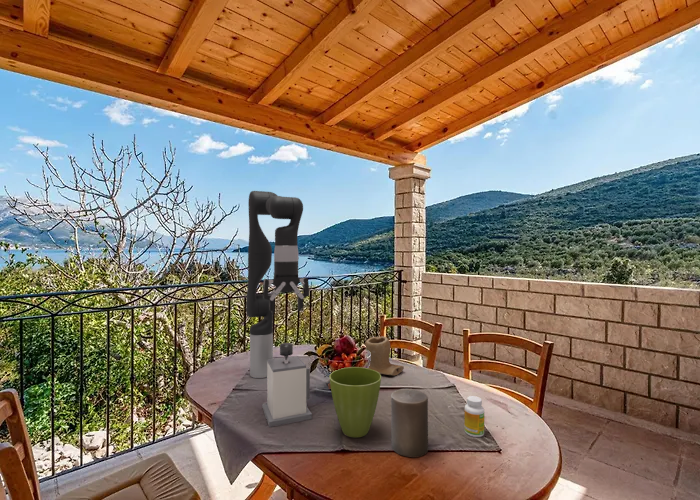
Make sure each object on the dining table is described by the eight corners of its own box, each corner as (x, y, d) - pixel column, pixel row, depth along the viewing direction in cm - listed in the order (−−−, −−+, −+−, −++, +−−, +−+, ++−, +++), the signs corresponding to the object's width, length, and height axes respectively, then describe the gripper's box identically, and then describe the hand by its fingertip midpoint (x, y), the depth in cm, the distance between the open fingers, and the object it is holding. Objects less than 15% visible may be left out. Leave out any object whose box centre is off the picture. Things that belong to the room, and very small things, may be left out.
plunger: (271, 400, 114) (271, 342, 114) (295, 396, 117) (295, 340, 117) (276, 411, 107) (276, 349, 107) (301, 406, 110) (301, 346, 110)
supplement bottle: (482, 439, 97) (482, 404, 97) (462, 434, 100) (462, 400, 100) (486, 431, 102) (486, 397, 101) (466, 426, 104) (467, 393, 104)
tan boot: (359, 374, 146) (359, 338, 146) (372, 366, 157) (372, 332, 157) (393, 381, 139) (393, 343, 139) (404, 372, 149) (404, 336, 149)
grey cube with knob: (262, 408, 116) (262, 358, 115) (303, 401, 121) (303, 353, 121) (269, 427, 104) (269, 371, 103) (315, 418, 109) (315, 365, 109)
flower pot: (322, 423, 106) (322, 370, 105) (366, 414, 111) (367, 364, 111) (340, 450, 92) (340, 389, 92) (390, 438, 98) (390, 380, 98)
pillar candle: (435, 454, 90) (435, 395, 90) (400, 460, 87) (400, 400, 87) (417, 435, 99) (417, 382, 100) (385, 440, 97) (385, 385, 97)
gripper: (305, 259, 118) (305, 307, 118) (261, 260, 112) (261, 310, 112) (311, 260, 111) (311, 311, 111) (265, 260, 105) (265, 315, 105)
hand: (286, 311), depth 112 cm, fingers open, 8 cm apart
